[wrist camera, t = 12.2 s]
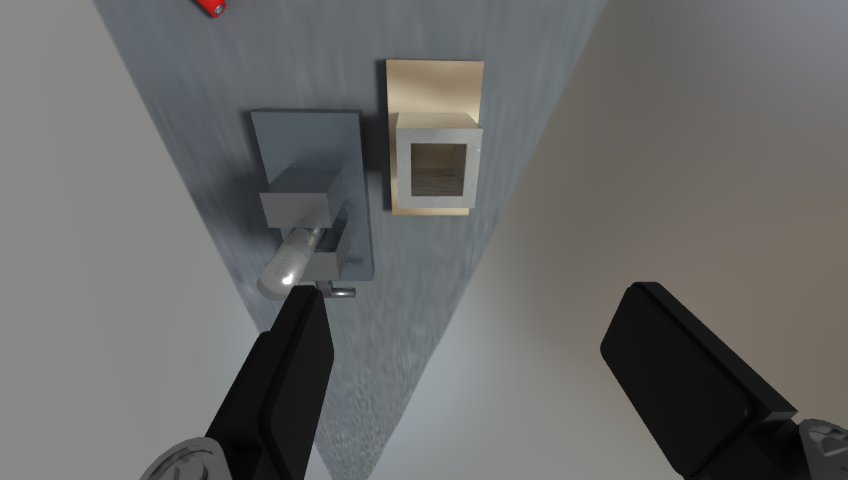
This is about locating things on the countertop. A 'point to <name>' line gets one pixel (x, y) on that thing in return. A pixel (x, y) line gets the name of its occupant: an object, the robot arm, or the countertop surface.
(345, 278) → the grey peg stand
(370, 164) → the countertop surface
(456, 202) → the white hollow square block
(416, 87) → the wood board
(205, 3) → the tow hook
